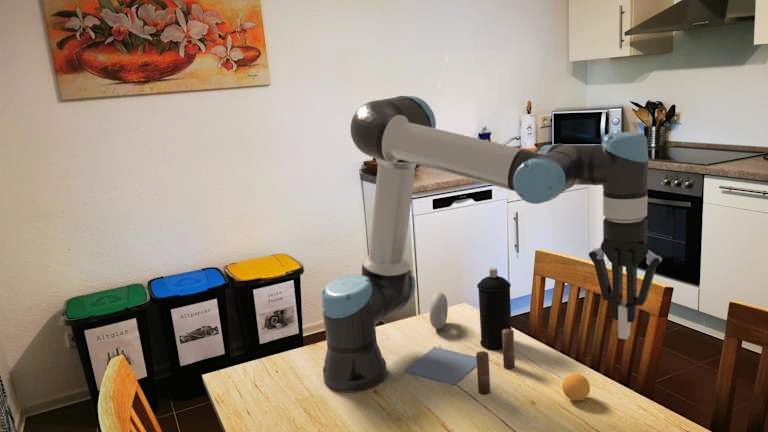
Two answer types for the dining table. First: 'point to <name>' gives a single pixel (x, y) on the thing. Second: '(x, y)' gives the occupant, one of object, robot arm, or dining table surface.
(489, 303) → the aerosol can
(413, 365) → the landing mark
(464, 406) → the dining table surface
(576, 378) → the ball
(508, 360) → the post
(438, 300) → the donut
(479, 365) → the post
